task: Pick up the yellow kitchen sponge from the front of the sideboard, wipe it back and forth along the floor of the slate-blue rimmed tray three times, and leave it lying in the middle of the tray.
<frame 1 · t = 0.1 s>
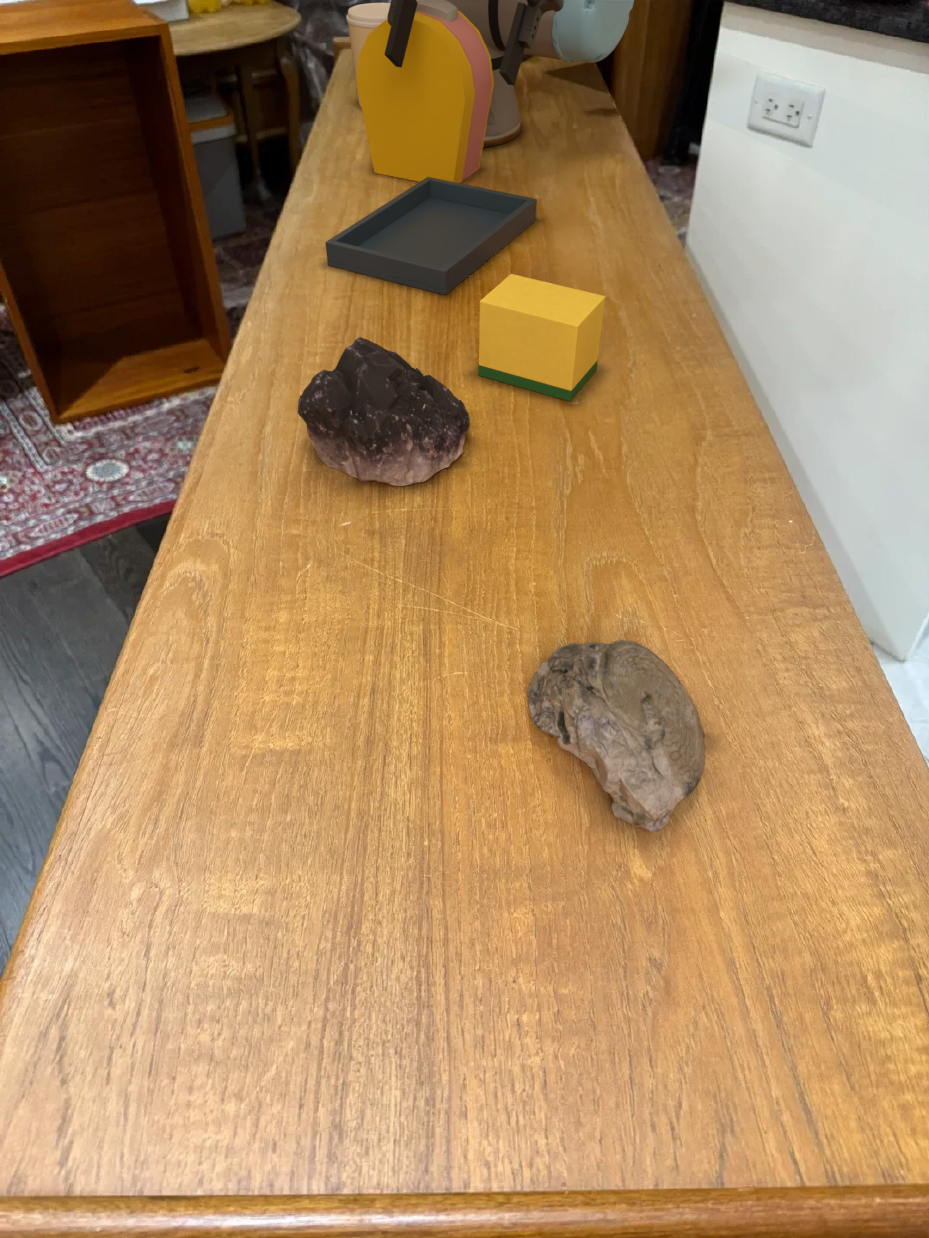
hand: (448, 70, 92), 15 cm above the dresser, tool tilted 35°, fingers open, 13 cm apart
crystal cluster: (387, 446, 71), on the dresser
fossilized seashell: (609, 742, 51), on the dresser
coffee cup: (384, 105, 134), on the dresser
yellow arched slab: (428, 171, 114), on the dresser
tray: (436, 242, 99), on the dresser
sponge: (537, 372, 79), on the dresser
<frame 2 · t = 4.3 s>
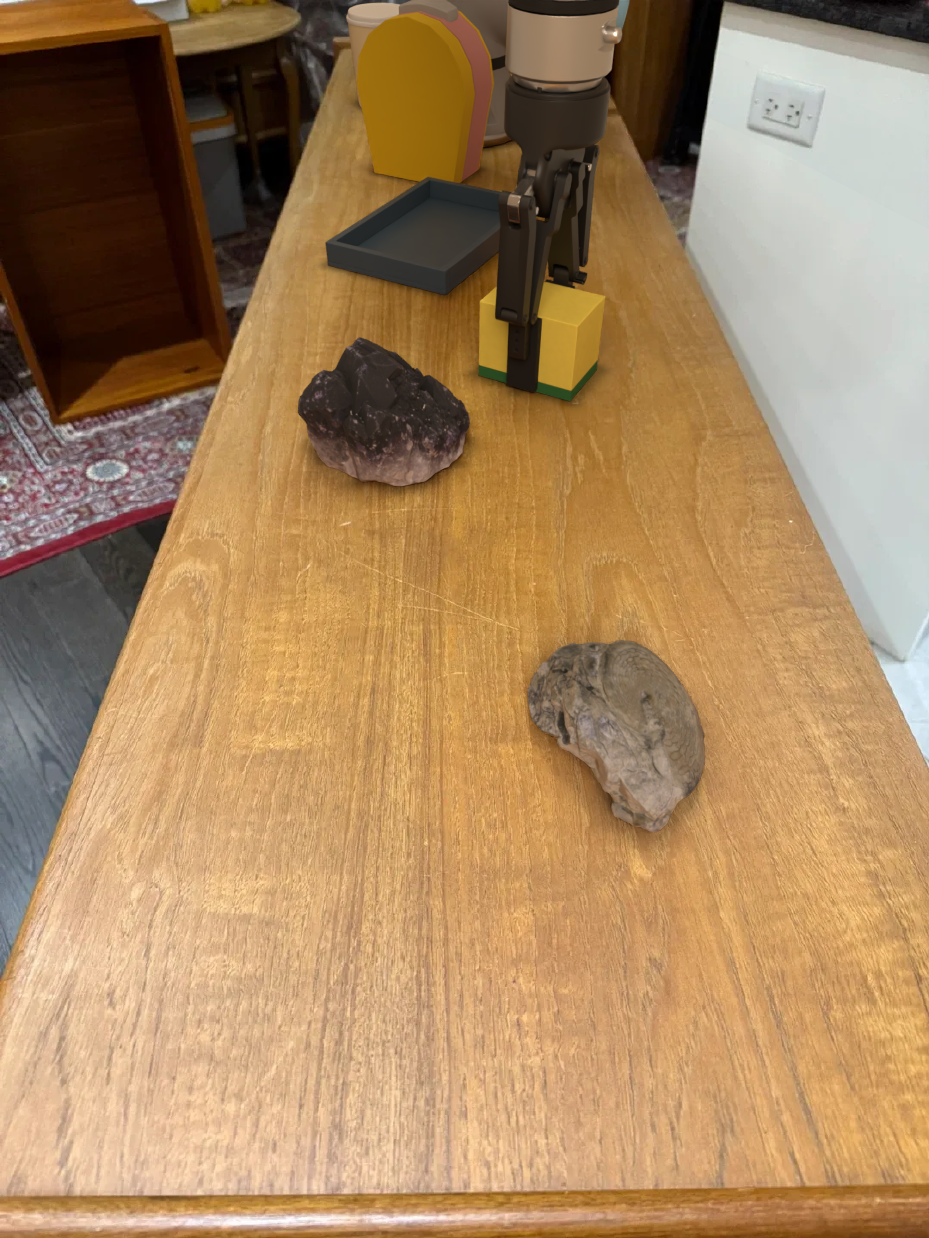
hand: (538, 368, 79), 0 cm above the dresser, tool pointing down, fingers closed on sponge, 6 cm apart
sponge: (537, 372, 79), on the dresser, touching gripper
everything else where it was.
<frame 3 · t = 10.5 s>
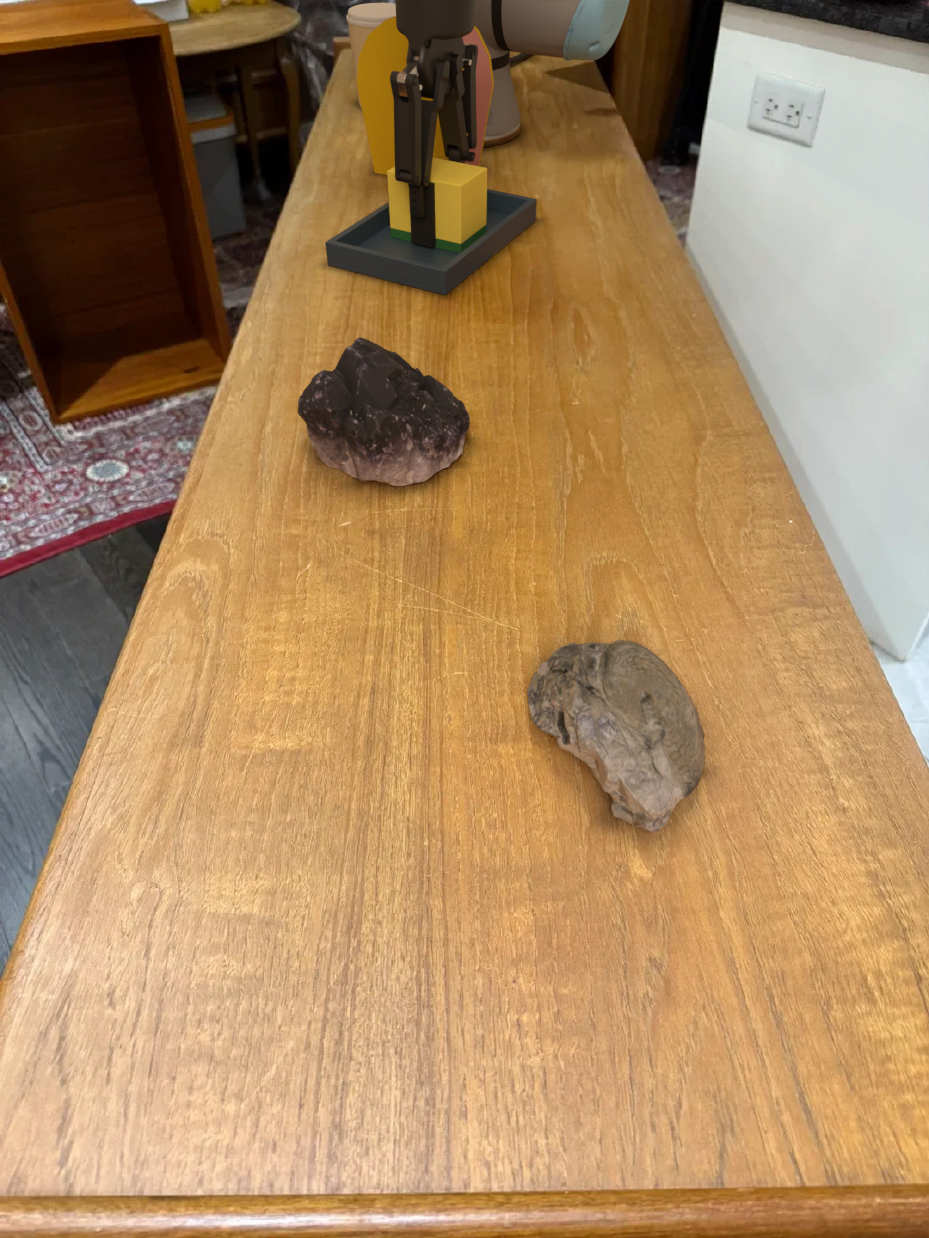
hand: (438, 233, 98), 1 cm above the dresser, tool pointing down, fingers closed on sponge, 6 cm apart
sponge: (438, 235, 99), point 1 cm above the dresser, touching gripper
everything else where it was.
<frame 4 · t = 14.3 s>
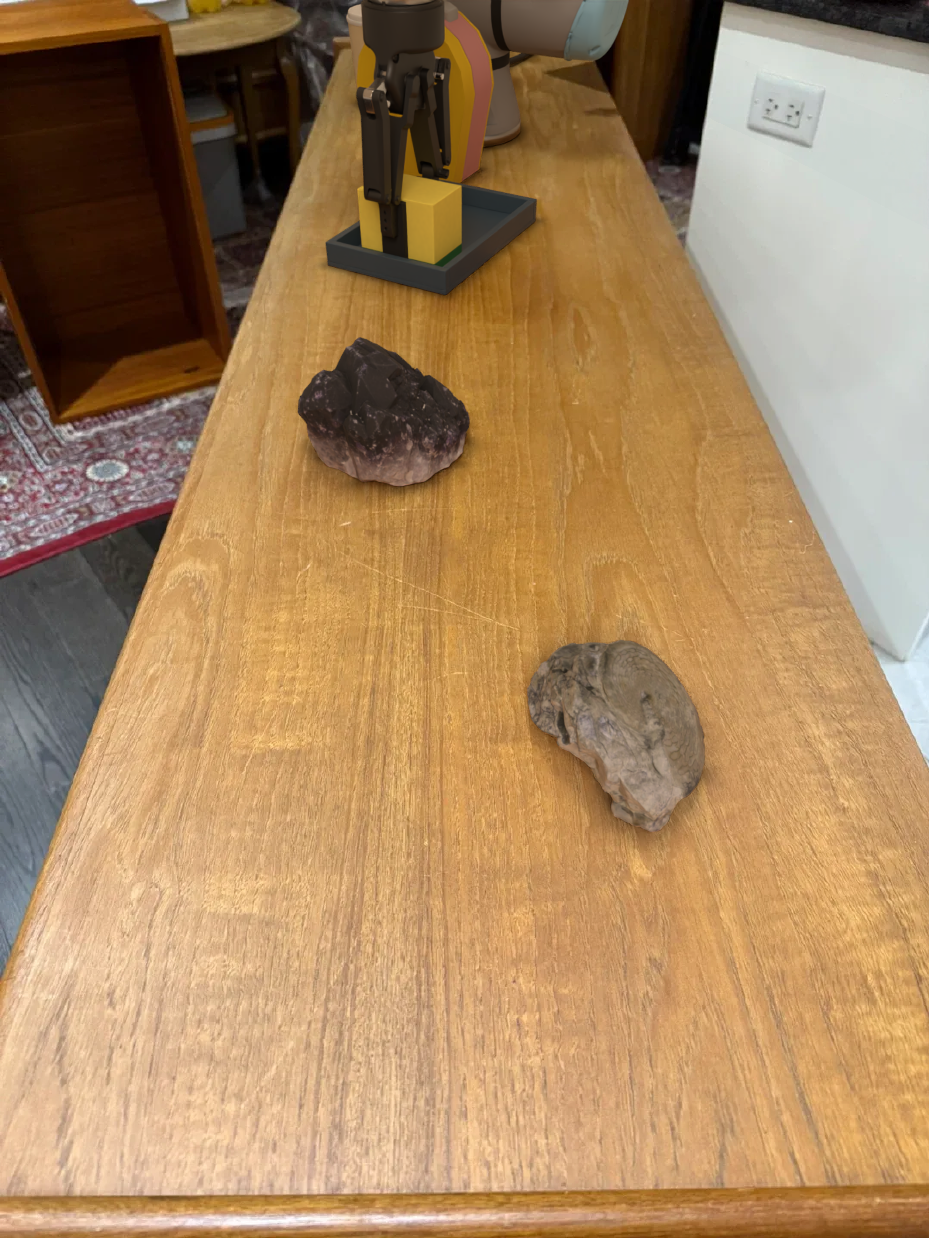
hand: (412, 252, 95), 1 cm above the dresser, tool pointing down, fingers closed on sponge, 6 cm apart
sponge: (412, 254, 95), point 1 cm above the dresser, touching gripper
everything else where it was.
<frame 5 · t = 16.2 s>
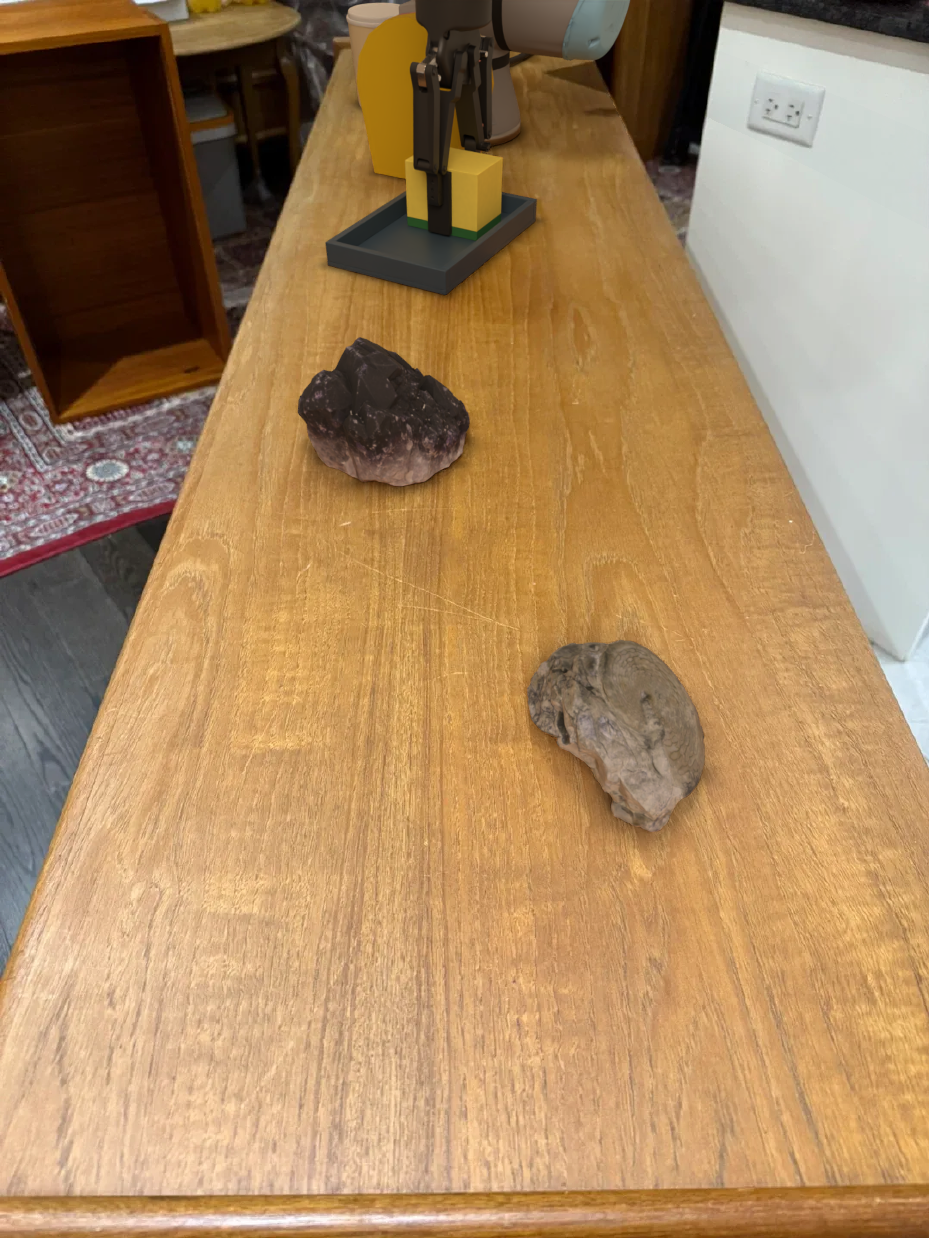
hand: (454, 221, 101), 1 cm above the dresser, tool pointing down, fingers closed on sponge, 6 cm apart
sponge: (454, 224, 101), point 1 cm above the dresser, touching gripper
everything else where it was.
when the fingers open (1 cm above the dresser, at t = 18.4 s): sponge stays where it is, resting on tray.
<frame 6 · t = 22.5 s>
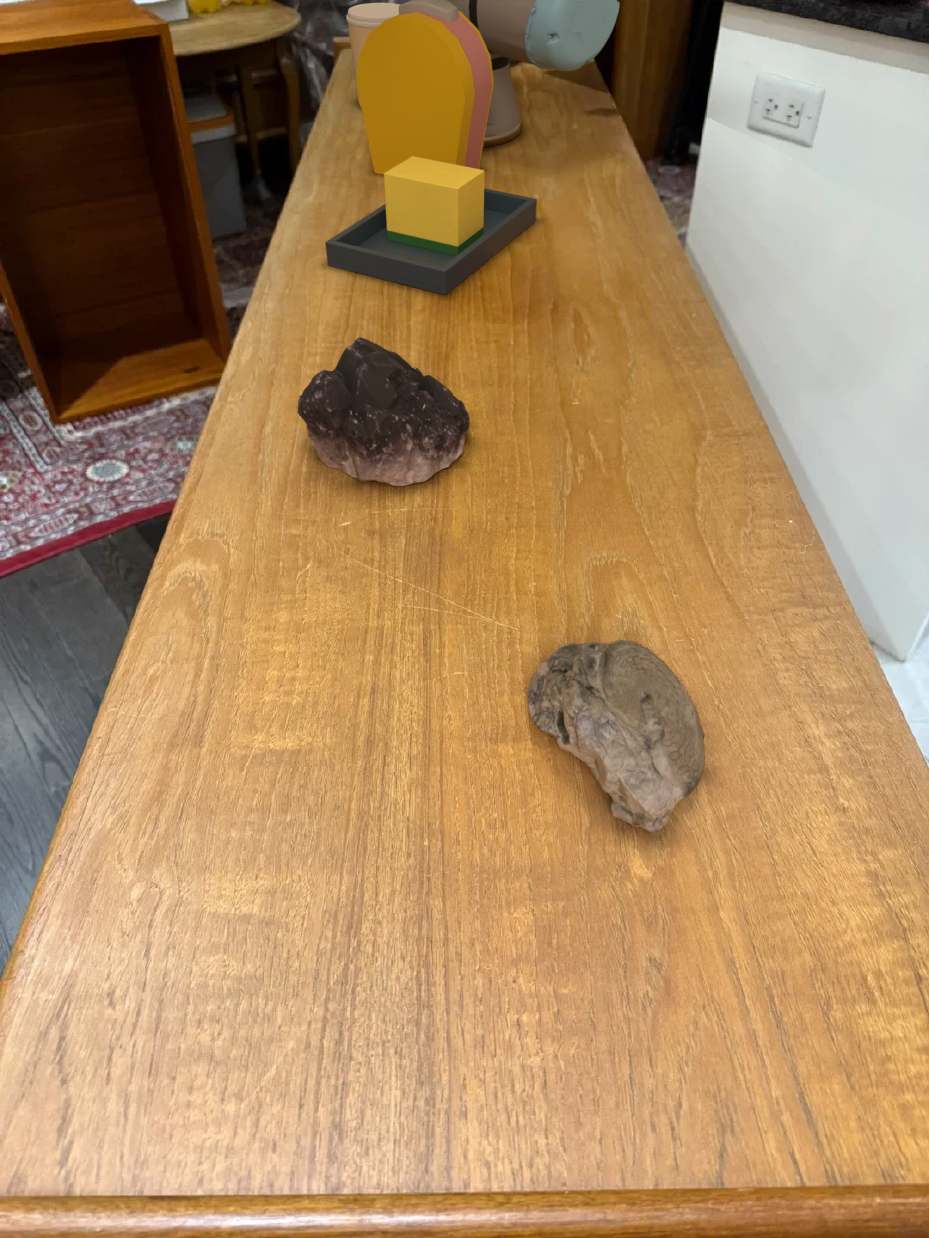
sponge: (435, 238, 98), resting on tray
everything else where it was.
at the end: sponge inside the target area in the tray (0.1 cm from its centre), point 0.5 cm above the tray's base; sponge moved 29.7 cm from its start; the gripper is holding nothing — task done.
